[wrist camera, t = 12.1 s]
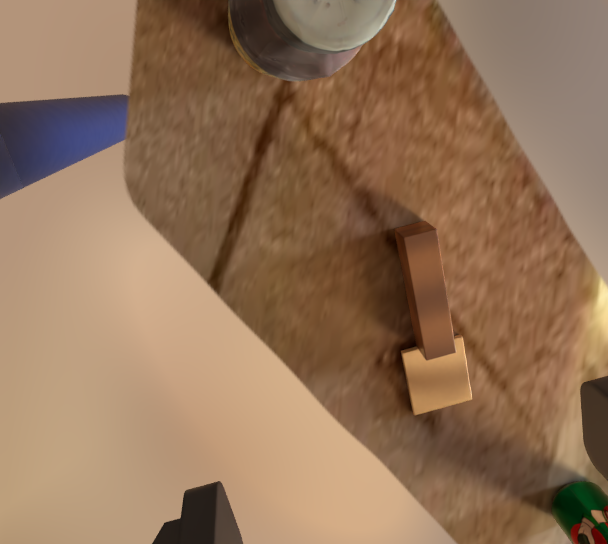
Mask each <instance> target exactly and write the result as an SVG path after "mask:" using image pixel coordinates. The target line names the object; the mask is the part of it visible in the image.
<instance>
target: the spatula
mask: <svg viewBox="0 0 608 544" xmlns="http://www.w3.org/2000/svg"><path fill="white" fill-rule="evenodd" d="M394 231H395V237H396V242H397V247H398V253H399V258H400V263H401V269H402V274H403V279H404V284H405V290H406V295H407V300H408V306H409V311H410V316H411V322H412V327H413V332H414V337H415V343H416V347H413V348H409V349H405V350H402V351H401V356H402V361H403V366H404V371H405V376H406V381H407V386H408V391H409V396H410V401H411V406H412V411H413V413H414V415H418V414H422V413H425V412H429V411H432V410H436V409H440V408H443V407H447V406H450V405H454V404H458V403H461V402H465V401H468V400H472V395H471V389H470V382H469V376H468V369H467V363H466V356H465V350H464V343H463V337H462V336H461V335H456V336H454V335H453V329H452V322H451V316H450V310H449V304H448V297H447V291H446V285H445V278H444V272H443V266H442V260H441V253H440V247H439V241H438V235H437V229H436V228H434V227H433V226H432V225H430V224H429V223H427V222H426V221H422V222H418V223H415V224H411V225H407V226H403V227H400V228H396V229H394Z"/></svg>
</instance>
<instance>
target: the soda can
mask: <svg viewBox="0 0 608 544" xmlns="http://www.w3.org/2000/svg"><path fill="white" fill-rule="evenodd" d="M552 515H553V518H554V519H555V520H556V522H557V523H558V524H559V526H560V527H561V529H562V530H563V531H564V533H565V534H566V535H567V537H568V538H569V540H570V541H571V542H572V544H608V496H607V495H606V494H605V492H604V491H603V490H602V489H601V488H600V487H599V486H598V485H596V484H594V483H592V482H586V481H576V482H572V483H569V484H567V485H565V486H564V487H562V488H561V489H560V490H559V491H558V492H557V494H556V495H555V497H554V499H553V503H552Z"/></svg>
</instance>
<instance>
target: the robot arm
mask: <svg viewBox="0 0 608 544" xmlns="http://www.w3.org/2000/svg"><path fill="white" fill-rule="evenodd" d="M580 394H581V409H582V425H583V439H584V445H585V448H586V451H587V454H588V456H589V458H590V460H591V461H592V463H593V465H594V466H595V467H596V469H597V470H598V471H599V472H600V473H601V474H602V475H603V476H604V477H605V478H606V480H607V481H608V376H606V377H602V378H598V379H595V380H591V381H587V382H584V383H583V384H582V385H581V390H580ZM152 544H243V541H242V537H241V534H240V531H239V528H238V526H237V523H236V520H235V517H234V514H233V512H232V509H231V506H230V503H229V501H228V498H227V495H226V492H225V490H224V487H223V485H222V483H221V482H220V481H218V482H214V483H211V484H207V485H204V486H200V487H196V488H193V489H189V490H186V491H185V493H184V498H183V505H182V512H181V518H180V519H177V520H173V521H169V522H166V523H164V525H163V527H162V528H161V530H160V531H159V533H158V535H157V536H156V538H155V540H154V542H153V543H152Z"/></svg>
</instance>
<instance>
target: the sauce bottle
mask: <svg viewBox="0 0 608 544" xmlns="http://www.w3.org/2000/svg"><path fill="white" fill-rule="evenodd" d="M395 3H396V0H228V23H229V31H230V35H231V38H232V41H233V44H234V46H235V48H236V50H237V52H238V53H239V55H240V56H241V57H242V59H243V60H244V61H245V62H246V63H247V64H248V65H249V66H251V67H252V68H253V69H255V70H257V71H258V72H260V73H263V74H265V75H268V76H272V77H276V78H279V79H283V80H288V81H305V80H311V79H317V78H324V77H329V76H331V75H332V74H334V73H335V72H336V71H337V70H339V69H340V68H341V67H343V66H345V65H346V64H347V63H348V62H349V61H350V60H351V59H352V58H353V57H354V56H355V55H356V53H357V52H358V51H359V50H360V48H361V46H362V45H363V44H365V43H366V42H368V41H369V40H370V39H372V38H373V37H374V36H375V35H376V34H377V33H378V32H379V31H380V30H381V29H382V28H383V26H384V25H385V24H386V22H387V21H388V19H389V17H390V16H391V14H392V13H393V11H394V7H395Z"/></svg>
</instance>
